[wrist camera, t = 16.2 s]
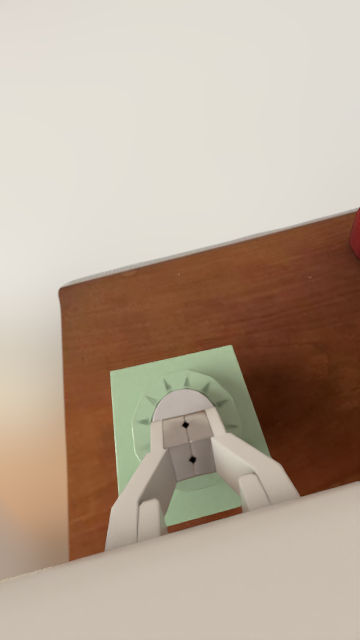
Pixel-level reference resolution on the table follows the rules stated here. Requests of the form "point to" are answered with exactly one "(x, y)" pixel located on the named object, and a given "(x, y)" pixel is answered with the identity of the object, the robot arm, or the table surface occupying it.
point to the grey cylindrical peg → (181, 404)
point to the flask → (140, 404)
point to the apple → (355, 235)
